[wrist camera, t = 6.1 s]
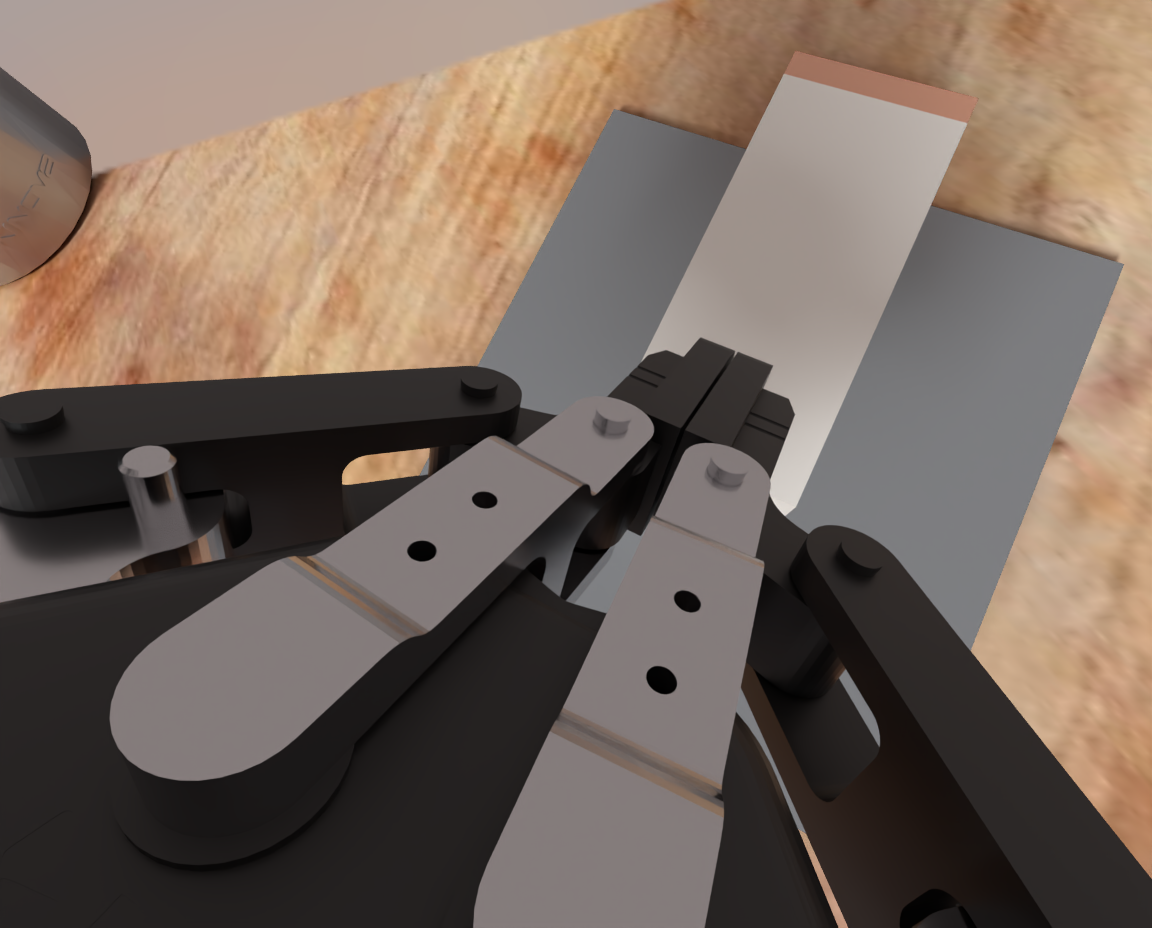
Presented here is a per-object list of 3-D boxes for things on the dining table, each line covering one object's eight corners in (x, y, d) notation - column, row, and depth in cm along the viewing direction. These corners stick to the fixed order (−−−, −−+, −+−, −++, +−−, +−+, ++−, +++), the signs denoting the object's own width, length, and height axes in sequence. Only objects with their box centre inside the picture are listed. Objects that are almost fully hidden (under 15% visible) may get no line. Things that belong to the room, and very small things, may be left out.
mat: (369, 582, 22) (362, 582, 22) (615, 118, 25) (614, 109, 24) (875, 868, 18) (881, 875, 17) (1113, 272, 20) (1123, 264, 20)
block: (609, 425, 16) (795, 50, 18) (625, 465, 21) (770, 168, 22) (795, 506, 15) (978, 98, 16) (768, 529, 20) (911, 212, 21)
